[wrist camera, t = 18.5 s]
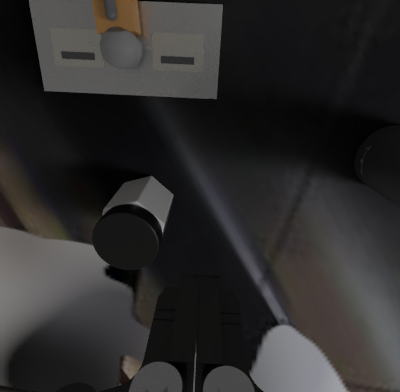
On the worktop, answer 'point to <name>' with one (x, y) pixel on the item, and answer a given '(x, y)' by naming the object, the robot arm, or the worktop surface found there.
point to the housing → (151, 42)
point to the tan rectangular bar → (119, 32)
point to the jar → (133, 224)
